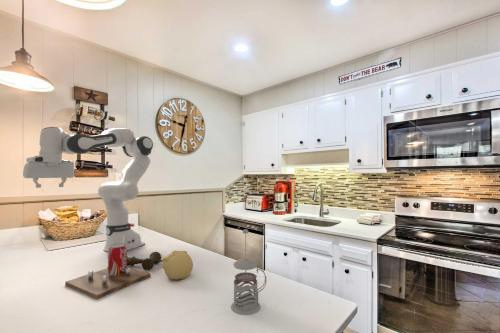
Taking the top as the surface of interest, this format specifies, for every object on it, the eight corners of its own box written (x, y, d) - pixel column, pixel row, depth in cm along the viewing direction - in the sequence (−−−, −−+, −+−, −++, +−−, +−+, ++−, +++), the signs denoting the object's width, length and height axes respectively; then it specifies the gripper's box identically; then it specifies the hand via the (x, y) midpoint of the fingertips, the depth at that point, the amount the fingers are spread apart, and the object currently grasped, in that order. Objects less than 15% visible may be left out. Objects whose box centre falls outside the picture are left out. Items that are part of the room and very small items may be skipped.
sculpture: (181, 269, 114) (181, 245, 115) (198, 276, 107) (198, 250, 107) (158, 277, 105) (158, 251, 106) (174, 285, 98) (174, 257, 98)
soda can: (117, 278, 101) (117, 248, 101) (103, 276, 103) (104, 246, 103) (130, 271, 108) (130, 243, 108) (117, 270, 110) (117, 242, 110)
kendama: (128, 263, 123) (168, 263, 122) (117, 272, 114) (160, 271, 113) (128, 251, 123) (168, 251, 122) (117, 258, 114) (160, 258, 113)
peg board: (119, 267, 117) (119, 257, 117) (150, 276, 106) (150, 266, 106) (65, 285, 98) (65, 273, 98) (96, 299, 87) (96, 286, 87)
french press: (230, 299, 86) (230, 226, 87) (264, 298, 87) (263, 225, 88) (230, 315, 76) (230, 233, 77) (268, 314, 77) (268, 232, 78)
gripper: (71, 160, 135) (70, 186, 134) (21, 158, 117) (21, 188, 116) (77, 160, 131) (76, 186, 131) (27, 157, 114) (26, 188, 113)
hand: (50, 187), depth 124 cm, fingers open, 8 cm apart
